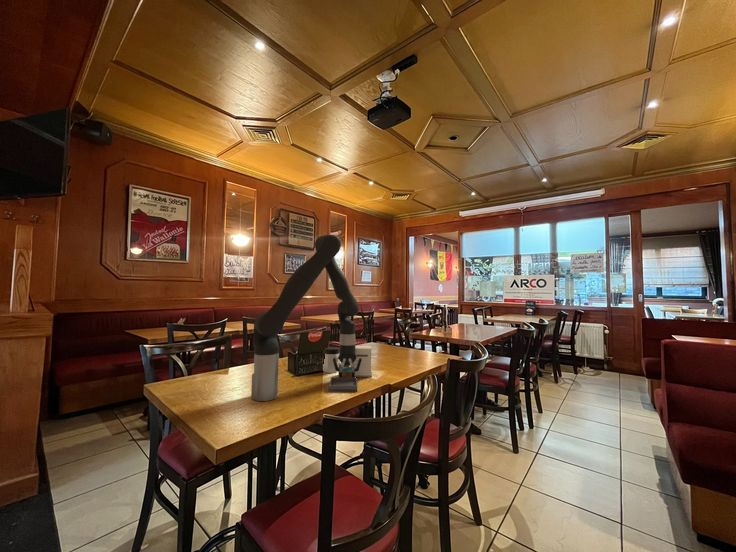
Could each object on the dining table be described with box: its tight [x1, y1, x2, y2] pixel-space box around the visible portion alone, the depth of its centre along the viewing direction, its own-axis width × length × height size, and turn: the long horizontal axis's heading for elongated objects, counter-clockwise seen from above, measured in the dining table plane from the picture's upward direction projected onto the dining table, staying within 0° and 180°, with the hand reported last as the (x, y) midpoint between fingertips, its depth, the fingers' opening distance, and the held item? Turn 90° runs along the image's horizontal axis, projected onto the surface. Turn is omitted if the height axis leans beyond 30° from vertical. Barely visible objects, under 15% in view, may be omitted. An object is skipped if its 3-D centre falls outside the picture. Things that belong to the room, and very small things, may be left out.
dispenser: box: [353, 345, 373, 379], centre depth 151 cm, size 10×8×14 cm
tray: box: [328, 377, 359, 393], centre depth 132 cm, size 12×12×2 cm
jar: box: [322, 346, 341, 374], centre depth 159 cm, size 9×8×12 cm
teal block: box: [342, 366, 352, 378], centre depth 141 cm, size 4×4×6 cm
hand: (347, 379), depth 141 cm, fingers closed on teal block, 4 cm apart
